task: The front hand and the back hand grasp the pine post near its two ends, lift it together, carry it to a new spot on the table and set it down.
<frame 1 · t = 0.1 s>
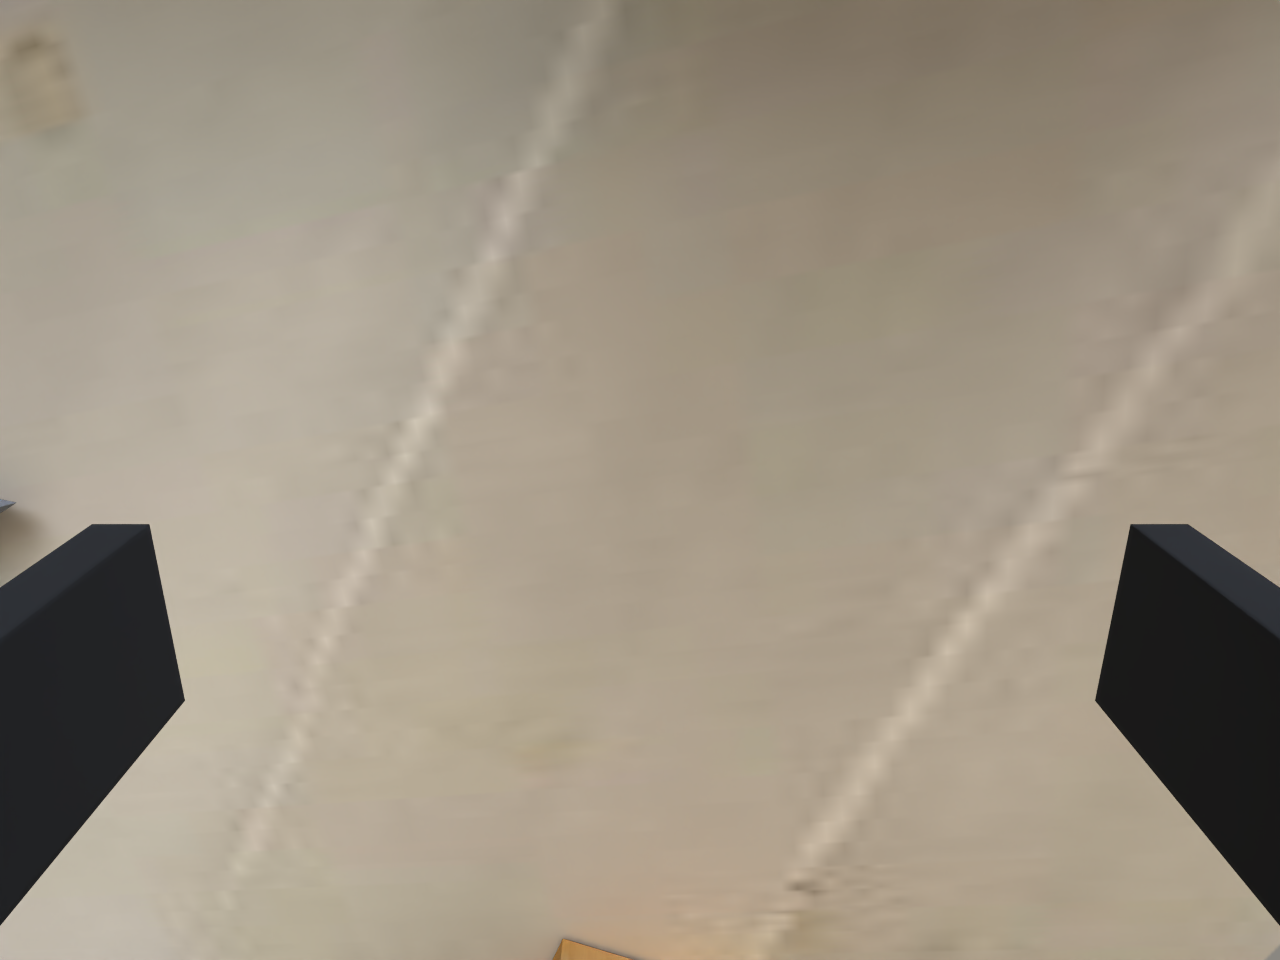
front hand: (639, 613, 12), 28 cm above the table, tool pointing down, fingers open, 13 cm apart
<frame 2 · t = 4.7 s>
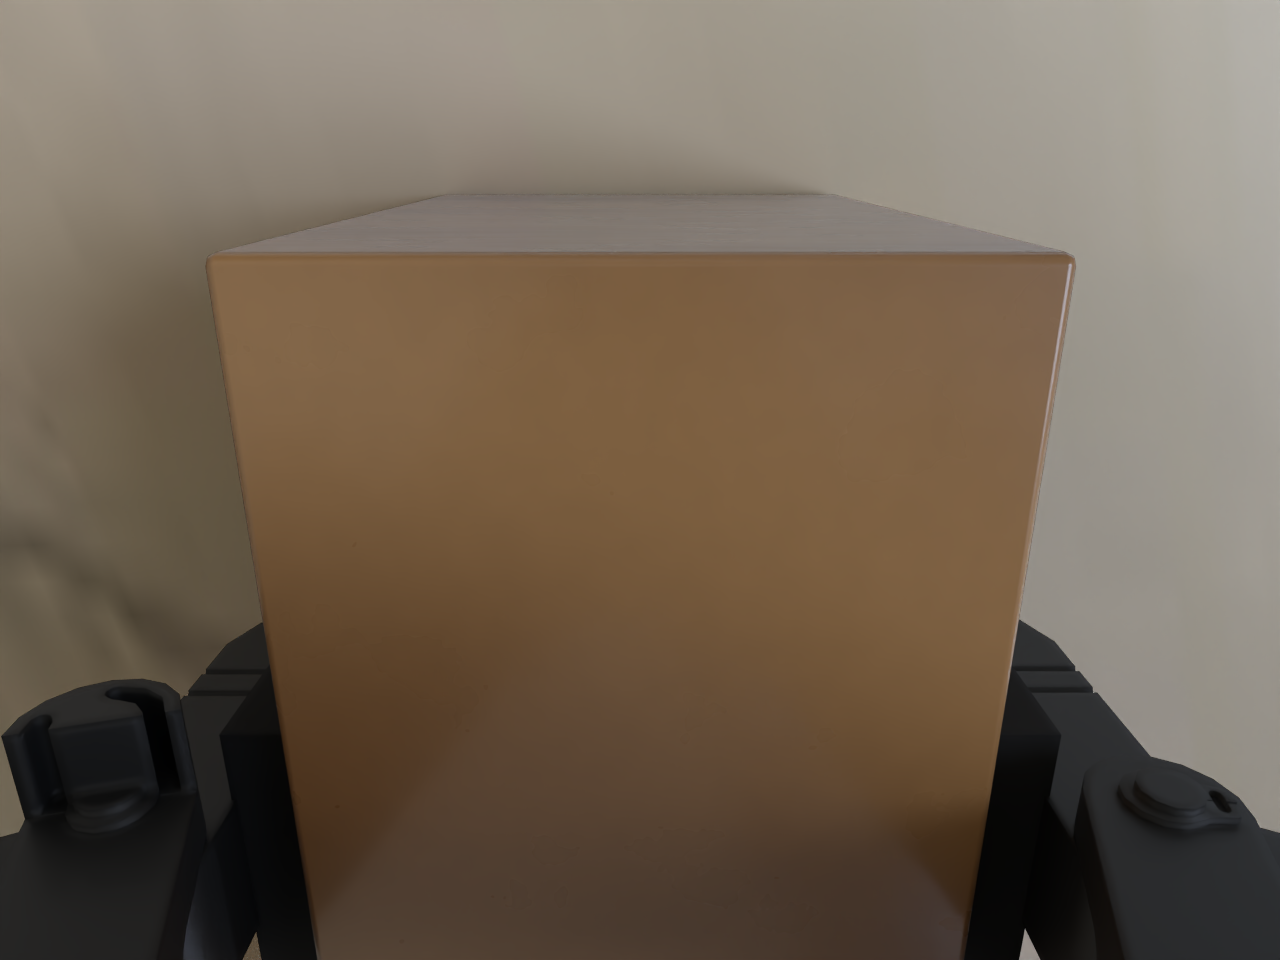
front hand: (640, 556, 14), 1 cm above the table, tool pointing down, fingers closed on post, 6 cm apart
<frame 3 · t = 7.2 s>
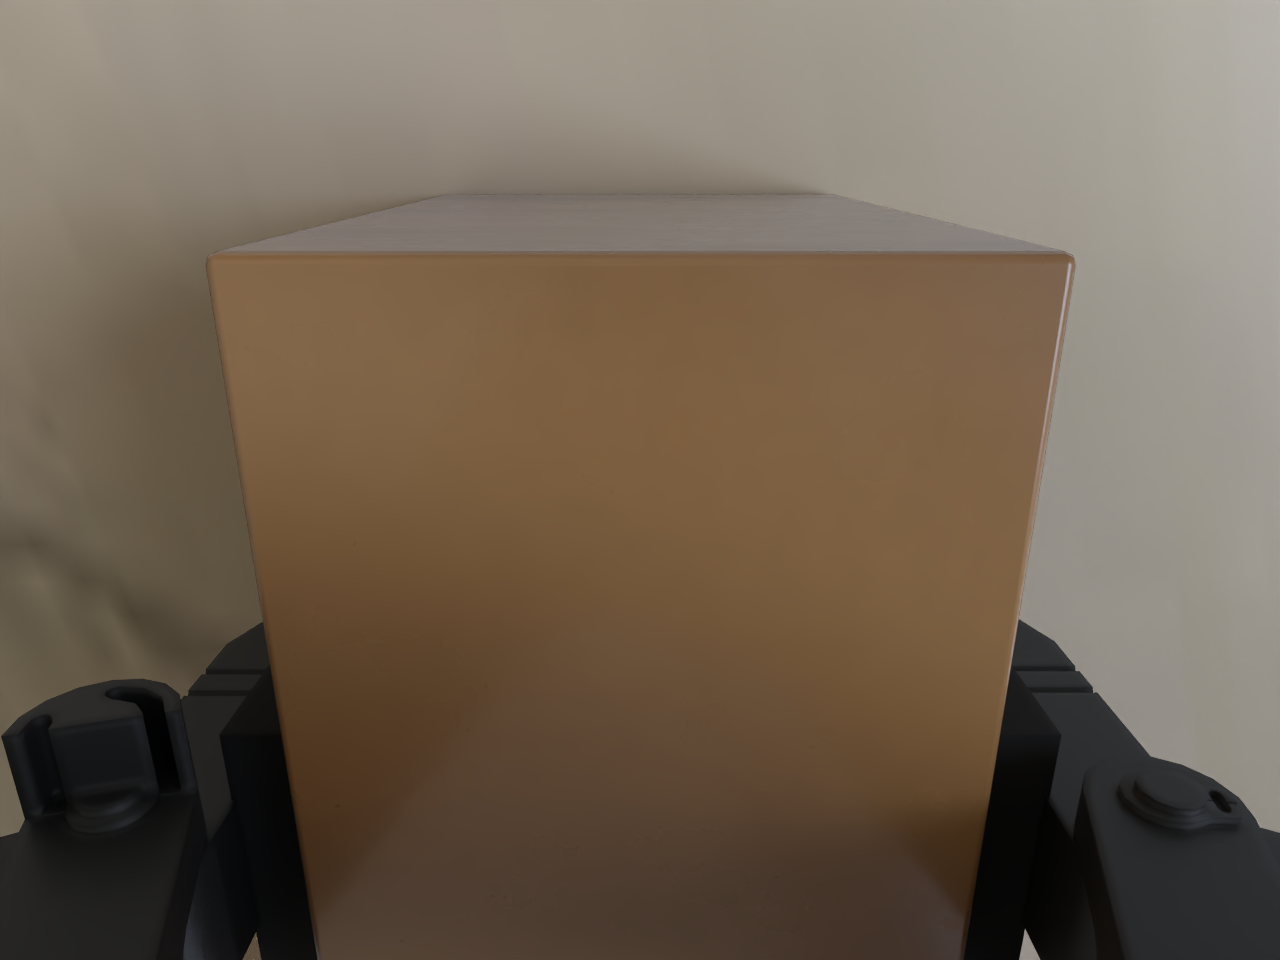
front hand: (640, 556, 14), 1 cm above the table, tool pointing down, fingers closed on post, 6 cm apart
when the front hand's fingers open (2 cm above the table, at t = 11.1 s): post drops 1 cm, held by the back hand.
when the back hand's fingers open (4 cm above the table, at t = 11.4 s): post stays where it is, on the table.
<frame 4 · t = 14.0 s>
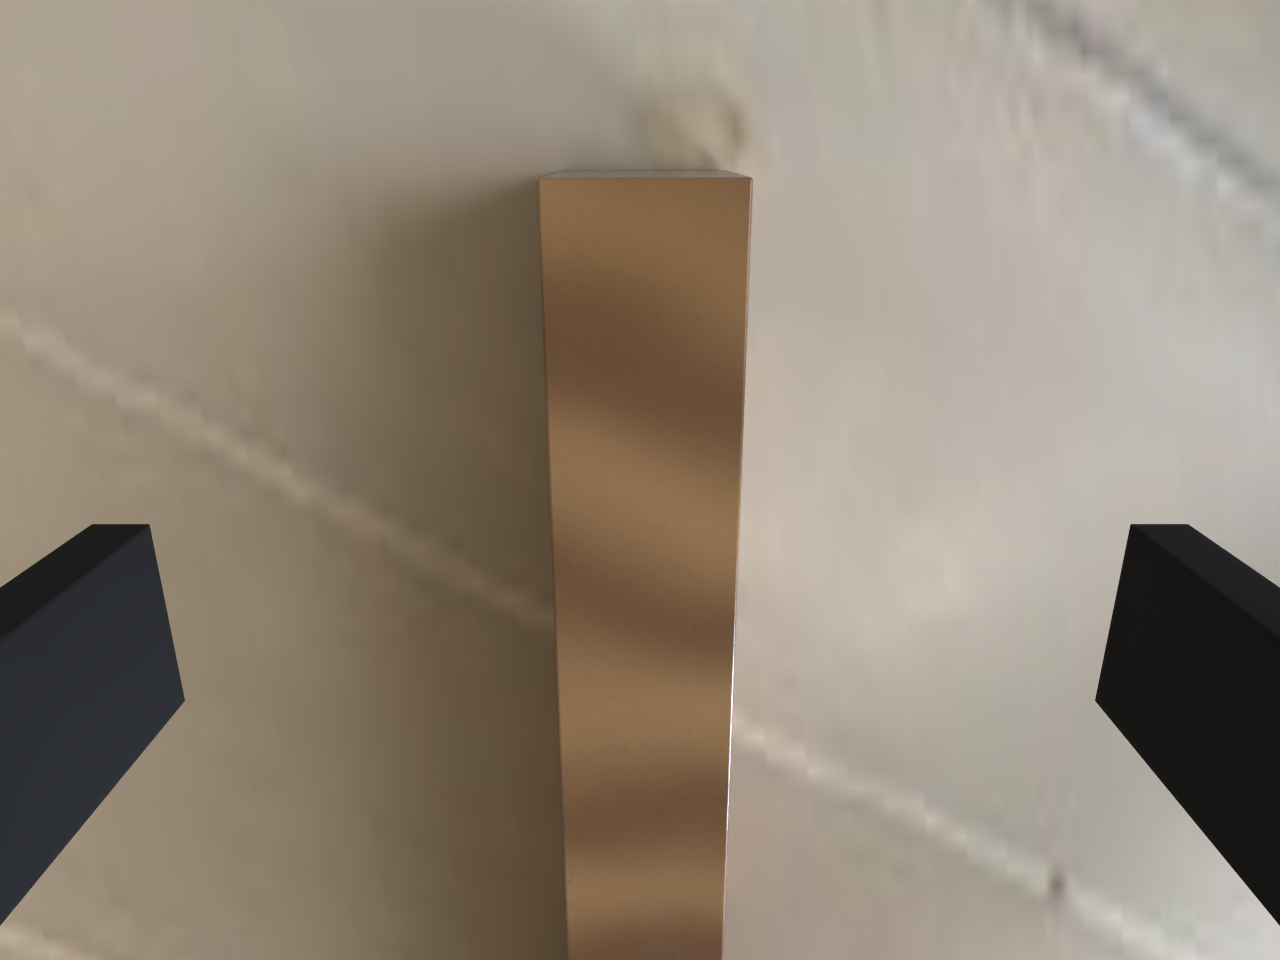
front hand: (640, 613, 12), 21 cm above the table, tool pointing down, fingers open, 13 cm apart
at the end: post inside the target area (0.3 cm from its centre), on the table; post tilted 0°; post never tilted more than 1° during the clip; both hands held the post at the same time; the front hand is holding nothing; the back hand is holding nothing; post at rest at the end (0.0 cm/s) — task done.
